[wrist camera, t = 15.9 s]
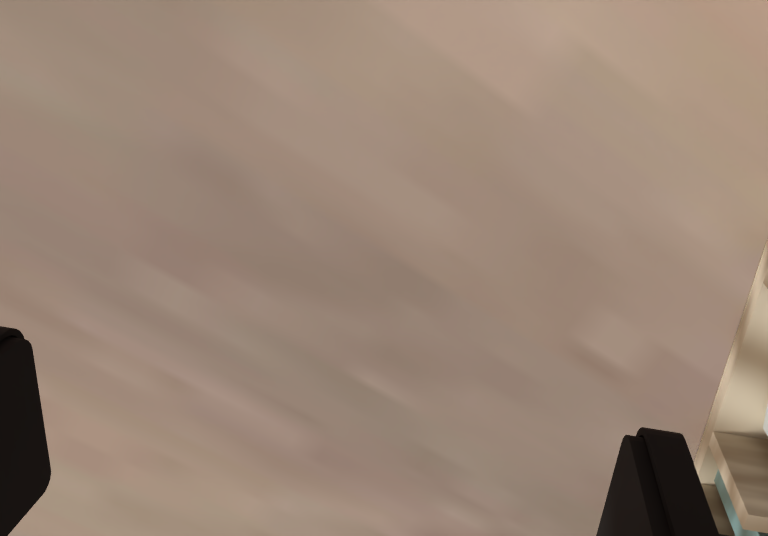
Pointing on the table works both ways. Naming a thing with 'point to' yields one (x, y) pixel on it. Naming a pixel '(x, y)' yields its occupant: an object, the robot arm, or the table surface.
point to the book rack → (740, 425)
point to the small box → (766, 421)
